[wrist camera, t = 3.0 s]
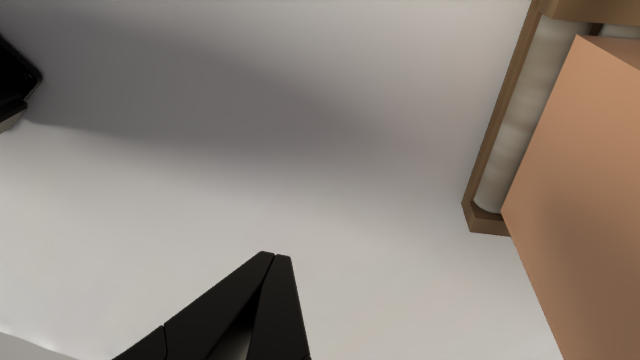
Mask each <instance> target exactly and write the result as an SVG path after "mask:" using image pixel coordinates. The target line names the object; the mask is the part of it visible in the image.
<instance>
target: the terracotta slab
mask: <svg viewBox="0 0 640 360" xmlns="http://www.w3.org/2000/svg"><path fill="white" fill-rule="evenodd" d="M500 212H501V214H502V217H503V219H504V221H505V224H506V226H507V228H508V231H509V233H510V235H511V238H512V240H513V242H514V245H515V247H516V249H517V252H518V254H519V256H520V259H521V261H522V263H523V266H524V268H525V270H526V273H527V275H528V277H529V280H530V282H531V284H532V287H533V289H534V291H535V294H536V296H537V298H538V301H539V303H540V305H541V308H542V310H543V312H544V315H545V317H546V319H547V322H548V324H549V326H550V329H551V331H552V333H553V336H554V338H555V340H556V343H557V345H558V347H559V350H560V352H561V354H562V357H563V359H564V360H640V39H627V38H615V37H603V36H591V35H579V34H576V37H575V39H574V41H573V44H572V46H571V48H570V51H569V53H568V55H567V58H566V60H565V62H564V64H563V67H562V69H561V71H560V74H559V76H558V78H557V81H556V83H555V85H554V88H553V90H552V92H551V95H550V97H549V99H548V102H547V104H546V106H545V109H544V111H543V113H542V115H541V118H540V120H539V122H538V125H537V127H536V129H535V132H534V134H533V136H532V139H531V141H530V143H529V146H528V148H527V150H526V153H525V155H524V157H523V160H522V162H521V164H520V166H519V169H518V171H517V173H516V176H515V178H514V180H513V183H512V185H511V187H510V190H509V192H508V194H507V197H506V199H505V201H504V204H503V206H502V208H501V211H500Z"/></svg>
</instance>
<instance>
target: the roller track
mask: <svg viewBox="0 0 640 360" xmlns="http://www.w3.org/2000/svg"><path fill="white" fill-rule="evenodd" d="M576 34H579V35H591V36H603V37H615V38H627V39H640V0H532V2H531V5H530V7H529V10H528V13H527V16H526V19H525V22H524V25H523V28H522V30H521V33H520V36H519V39H518V42H517V45H516V48H515V51H514V53H513V56H512V59H511V62H510V65H509V68H508V71H507V74H506V76H505V79H504V82H503V85H502V88H501V91H500V94H499V97H498V99H497V102H496V105H495V108H494V111H493V114H492V117H491V120H490V122H489V125H488V128H487V131H486V134H485V137H484V140H483V143H482V145H481V148H480V151H479V154H478V157H477V160H476V163H475V166H474V168H473V171H472V174H471V177H470V180H469V183H468V186H467V189H466V191H465V194H464V197H463V200H462V203H461V204H462V208H463V211H464V214H465V218H466V221H467V224H468V227H469V231H470V232H475V233H483V234H492V235H500V236H509V237H511V235H510V233H509V231H508V228H507V226H506V224H505V221H504V219H503V217H502V214H501V212H500V211H501V208H502V206H503V204H504V201H505V199H506V197H507V194H508V192H509V190H510V187H511V185H512V183H513V180H514V178H515V176H516V173H517V171H518V169H519V166H520V164H521V162H522V160H523V157H524V155H525V153H526V150H527V148H528V146H529V143H530V141H531V139H532V136H533V134H534V132H535V129H536V127H537V125H538V122H539V120H540V118H541V115H542V113H543V111H544V109H545V106H546V104H547V102H548V99H549V97H550V95H551V92H552V90H553V88H554V85H555V83H556V81H557V78H558V76H559V74H560V71H561V69H562V67H563V64H564V62H565V60H566V58H567V55H568V53H569V51H570V48H571V46H572V44H573V41H574V39H575V37H576Z"/></svg>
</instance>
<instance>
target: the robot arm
mask: <svg viewBox="0 0 640 360" xmlns="http://www.w3.org/2000/svg"><path fill="white" fill-rule="evenodd" d="M29 74H30V75H31V76H32V78H31V77H30V76H29ZM41 82H42V75H41V73H40V72H39V71H38V70H37V69H36V68H35V67H34V66H33V65H32V64H30V63H29V62H28V61H27V60H26V59H25V58H24V57H23V56H22V55H21V54H19V53H18V52H17V51H16V50H15V49H14V48H13V47H12V46H11V45H9V44H8V43H7V42H6V41H5V40H4V39H3V38H2V37H1V36H0V134H1V133H3V132H4V131H6V130H8V129H9V128H10V127H11V126H12V125H13V124H14V123H15V122H16V121H17V120H18V118H19V117H20V116H21V115H22V114H23V113H24V112H25V111H26V109H27V108H28V103H27V102H25V100H26V99H27V98H28V97H29V96H30V95H31V94H32V92H33V91H34V90H35V89H36V88H37V87H38V86H39V85H40V83H41ZM163 326H164V327H163ZM163 326H162V325H161V326H159V327H158V328H156V329H155V330H154V331H152V332H151V333H150V334H148V335H147V336H146V337H144V338H143V339H141V340H140V341H139V342H137V343H136V344H134V345H133V346H132V347H130V348H129V349H127V350H126V351H124V352H123V353H121V354H120V355H118V356H117V357H115V358H113V359H112V360H312V359H311V357H310V351H309V346H308V341H307V336H306V331H305V326H304V321H303V316H302V311H301V306H300V301H299V296H298V291H297V286H296V281H295V276H294V272H293V267H292V262H291V258H290V257H289V256H285V255H280V254H277V255H275V254H274V253H270V252H265V251H260V252H259V253H257V254H256V255H255V256H253V257H252V258H251V259H249V260H248V261H247V262H245V263H244V264H243V265H241V266H240V267H239V268H237V269H236V270H235V271H233V272H232V273H231V274H229V275H228V276H227V277H225V278H224V279H223V280H221V281H220V282H219V283H217V284H216V285H215V286H213V287H212V288H211V289H209V290H208V291H207V292H205V293H204V294H203V295H201V296H200V297H199V298H197V299H196V300H195V301H193V302H192V303H191V304H189V305H188V306H187V307H185V308H184V309H183V310H181V311H180V312H179V313H177V314H176V315H175V316H173V317H172V318H171V319H169V320H168V321H167V322H165V323H164V325H163Z"/></svg>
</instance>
